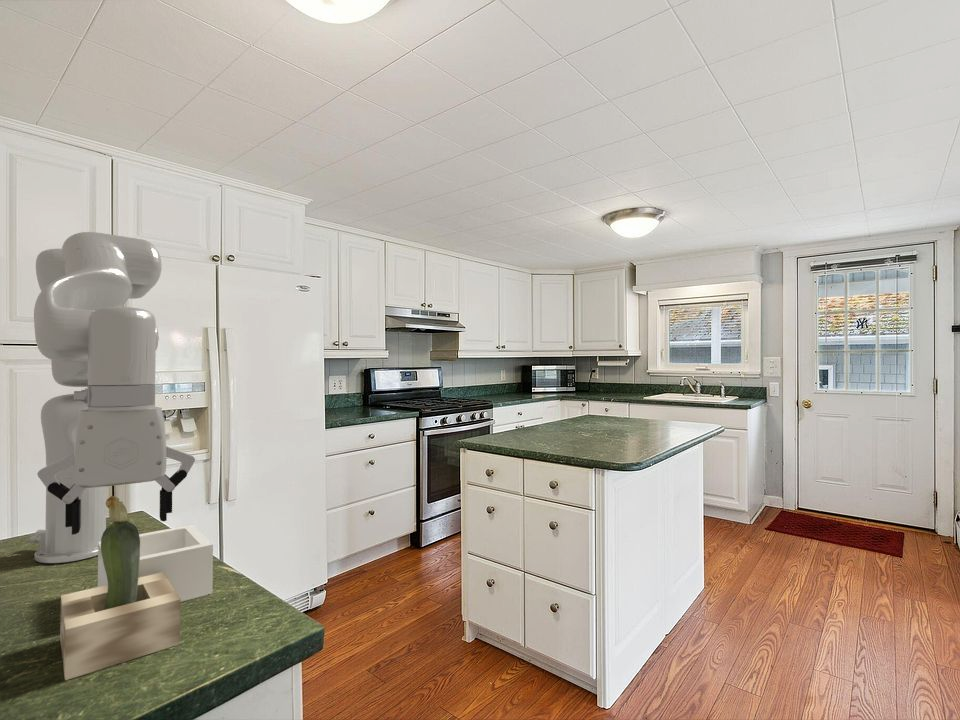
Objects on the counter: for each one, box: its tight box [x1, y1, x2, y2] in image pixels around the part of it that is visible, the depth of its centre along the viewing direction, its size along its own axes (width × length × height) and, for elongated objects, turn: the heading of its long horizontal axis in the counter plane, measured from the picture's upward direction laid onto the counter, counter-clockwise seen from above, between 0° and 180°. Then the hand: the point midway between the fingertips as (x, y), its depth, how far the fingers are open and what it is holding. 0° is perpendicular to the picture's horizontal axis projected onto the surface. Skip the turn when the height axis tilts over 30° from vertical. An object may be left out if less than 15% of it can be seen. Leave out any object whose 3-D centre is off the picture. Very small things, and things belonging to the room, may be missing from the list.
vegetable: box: [101, 495, 140, 610], centre depth 69 cm, size 4×4×20 cm
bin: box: [97, 524, 214, 603], centre depth 84 cm, size 14×14×8 cm
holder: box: [59, 572, 182, 681], centre depth 69 cm, size 12×12×6 cm
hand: (121, 525), depth 69 cm, fingers open, 9 cm apart
